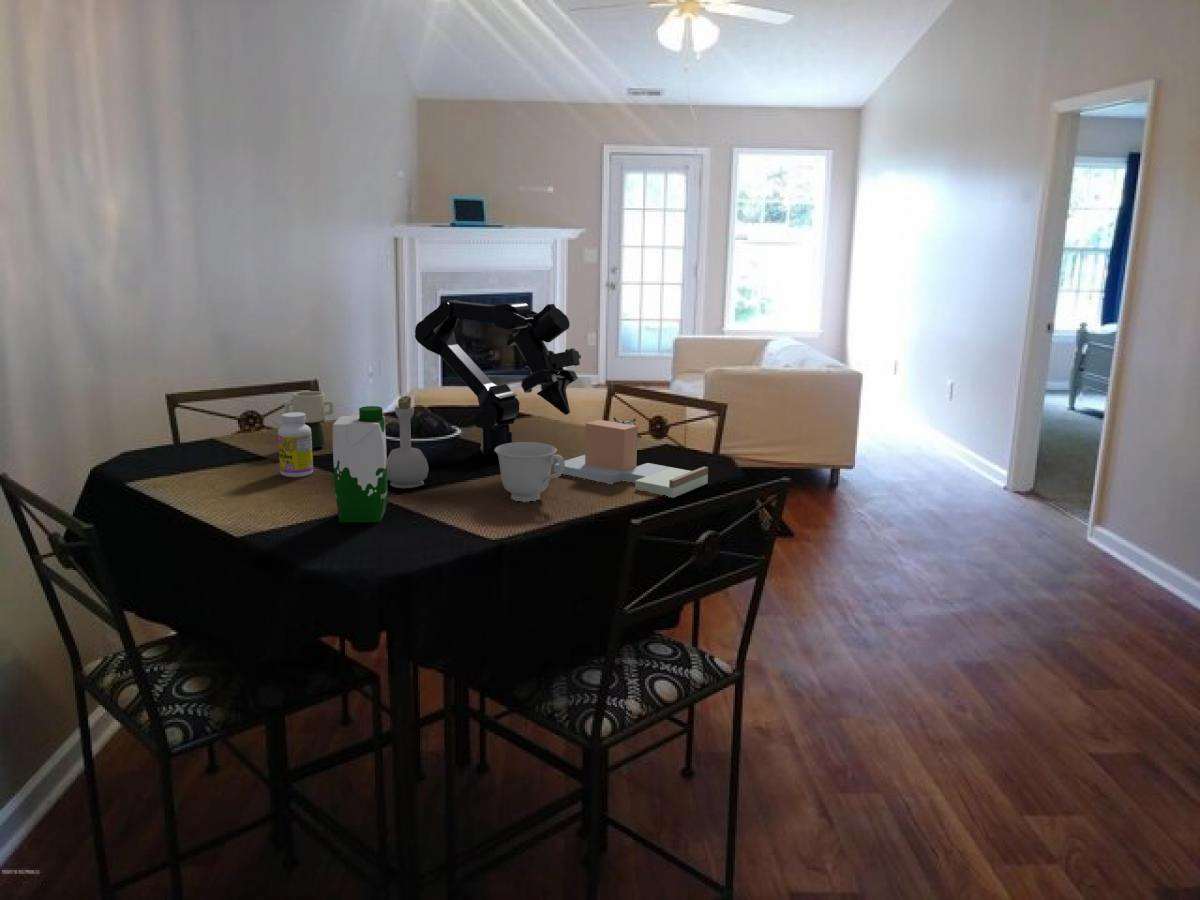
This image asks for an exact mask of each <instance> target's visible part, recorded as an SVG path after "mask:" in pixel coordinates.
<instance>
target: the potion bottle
mask: <svg viewBox="0 0 1200 900" xmlns="http://www.w3.org/2000/svg"><path fill="white" fill-rule="evenodd" d="M411 403H412V398H411V396H409V395H405V396H402V397H400V398H398V399H397V404H398V406H396V407H395V408H394V410H395V415H396V416H397V418H398V420H399V423H398V424H399V447H397V448H393V449H392V450H391V451H390V453H389V454H388V456H387V481H390V483H389V486H390V485H391V487H393V488H395V489H406V488H408V489H414V487H415V488H419V486H420V487H421V486H423V485H425V483H424V480H426V479H428V474H429V469H430V468H429V464H428V459H427V458H426V456H425V455H424V453H423V451H422V450H421V449H420V448H416V447H412V439H411V438H412V435H411V428H412V427H411V419H412V417H413V416H414V413H415V412H414V411H415V407H414V406H411V405H412V404H411Z"/></svg>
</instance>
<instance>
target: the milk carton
mask: <svg viewBox="0 0 1200 900" xmlns="http://www.w3.org/2000/svg"><path fill="white" fill-rule="evenodd" d="M358 411H359V413H358V414H355V415H341V416H340V417H338V418H337V419H336V421H335V422H333V424H332V456H333V457H332V458H333V459H332V460H333V479H334V495H335V501H336V509H337V514H338V522H339V523H381V521H382V519H383V517H384V515H385V513H386V510H387V508H386V507H387V499H388V497H387V496H388V480H387V458H388V456H387V437H386V418H385V416H384V415H383V408H382V407H381V406H375V405H374V406H373V405H372V406H371V405H368V406H362V407H359V408H358Z"/></svg>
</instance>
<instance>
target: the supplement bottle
mask: <svg viewBox="0 0 1200 900" xmlns="http://www.w3.org/2000/svg"><path fill="white" fill-rule="evenodd" d="M305 420H306V415H305V413H301V412H291V413H285V412H284V413H282V414H281V421H282V422H283V425H282V426H280V427H279V428H278V430H277V439H278V455H279V457H278V458H279V473H280V474H281V475H282V476H283V477H287V478H302V477H306V476H310V475H311V474H312V473H313V472H314V459H313V448H312V437H311V429H310V427H309V426H308V425H305Z"/></svg>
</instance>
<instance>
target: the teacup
mask: <svg viewBox="0 0 1200 900" xmlns="http://www.w3.org/2000/svg"><path fill="white" fill-rule="evenodd" d="M495 452H496V453H497V456H498V463H499V469H500V477H501V482H502V485H503V488H504V489H505V490H506V491H507V492H509V493H511V496H510V499H511V500H512V499H513V500H512V501H514V500H515V502H517V501H523V502H522V503H530V502H529V501H534V502H537V501H536V500H538V499H539V500H540V499H541V495H540V494H542V492H544V491H545V490H547V488H548V487H549V484H550V481H551V480H552V479H556V478H559V477H561V476H562V475H561V474H562V473H563V472H564V469H565V462H564V461H565V460H564V458H563V456H562V455H560V454H556V453H557V452H558V450H557V448H556V447H555V446H554V445H552V444H548V443H544V442H537V441H516V442H512V443H507V444H502V445H499V446H497V447H496V448H495ZM555 461H557V463H559V470H558V471H557V472H556V473H552V466H554V464H555ZM551 473H552V474H551ZM539 500H538V501H539ZM526 501H527V502H526Z"/></svg>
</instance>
